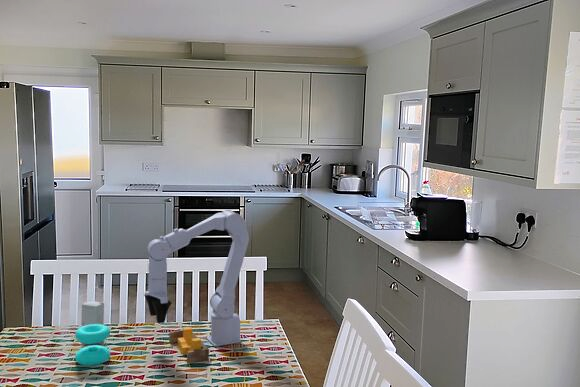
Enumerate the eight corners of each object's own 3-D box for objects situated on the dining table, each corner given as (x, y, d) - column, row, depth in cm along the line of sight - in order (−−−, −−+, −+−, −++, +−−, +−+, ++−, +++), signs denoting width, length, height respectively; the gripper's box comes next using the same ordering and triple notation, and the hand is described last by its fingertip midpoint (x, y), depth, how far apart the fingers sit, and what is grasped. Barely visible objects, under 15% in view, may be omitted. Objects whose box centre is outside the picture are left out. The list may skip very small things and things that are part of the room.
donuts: (117, 325, 168) (94, 336, 159) (117, 357, 169) (94, 369, 160) (91, 320, 172) (67, 331, 162) (91, 351, 173) (67, 363, 164)
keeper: (188, 338, 186) (188, 328, 185) (208, 359, 169) (208, 348, 169) (169, 341, 182) (169, 331, 182) (187, 363, 166) (188, 352, 166)
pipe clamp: (177, 347, 178) (177, 328, 178) (190, 345, 180) (191, 326, 180) (187, 362, 168) (187, 341, 167) (201, 360, 169) (201, 339, 169)
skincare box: (80, 339, 182) (80, 304, 181) (89, 334, 186) (88, 300, 185) (96, 341, 180) (96, 306, 179) (104, 337, 185) (104, 302, 183)
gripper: (138, 273, 178) (138, 313, 180) (151, 284, 166) (151, 328, 167) (160, 271, 182) (160, 310, 183) (174, 282, 169) (173, 324, 171)
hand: (157, 318), depth 176 cm, fingers open, 7 cm apart
